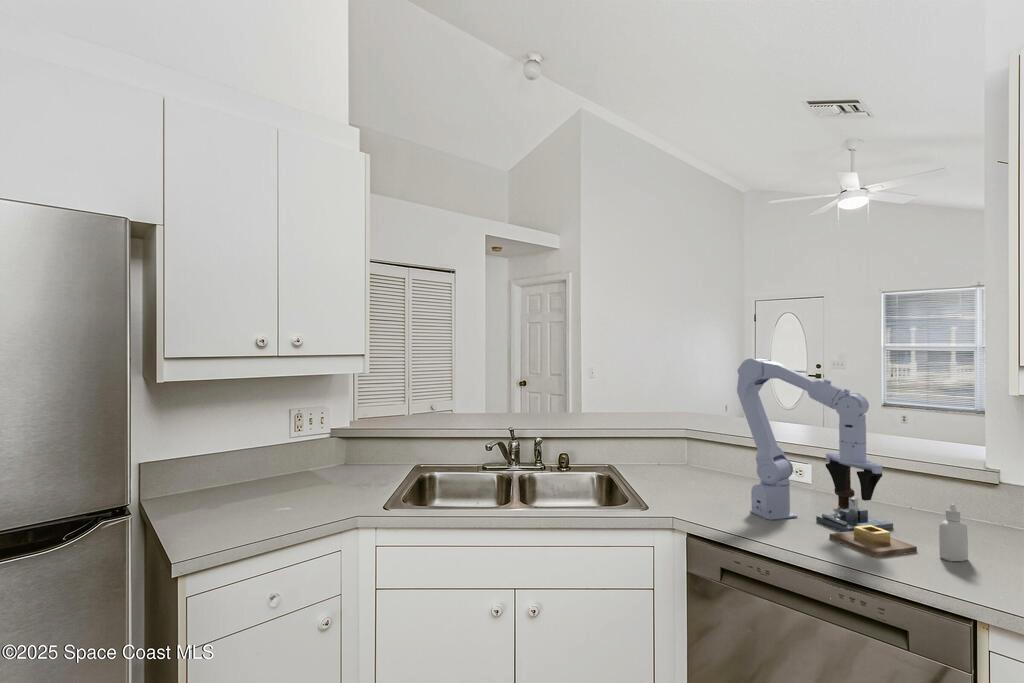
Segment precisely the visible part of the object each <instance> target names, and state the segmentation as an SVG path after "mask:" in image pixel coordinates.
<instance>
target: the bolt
mask: <svg viewBox="0 0 1024 683" xmlns="http://www.w3.org/2000/svg"><path fill="white" fill-rule="evenodd" d="M837 454H838V455H839V453H837ZM851 468H852V467H851V466H849V467H848V470H847V473H846V481H845V491H844V492H836V489H835V488H834V494H835V495H836V496H838V501H837V502H838V503H837V504H838V505H837V506H838V507H840V508H841V509H849V498H854V497H855V490H854V489H853V488H852V486H851V485H852V484H851V483H852V482H851Z"/></svg>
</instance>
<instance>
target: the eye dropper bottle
mask: <svg viewBox="0 0 1024 683" xmlns="http://www.w3.org/2000/svg"><path fill="white" fill-rule="evenodd" d="M938 529H939V530H938V532H939V533H938V534H939V537H938V539H939V544H938V545H939V558H940V559H943V560H944V561H948V562H952V561H961V562H965V561H967V560H968V559H969V541H968V540H969V537H968V536H969V535H968V526H967V524H966V523H965V522H962V521H961V511H960V510H958V509H957V508H956V504H954V503H950V506H949V508H946V509H945V519H944V520H943V521H941V522H940V523H939V527H938Z"/></svg>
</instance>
